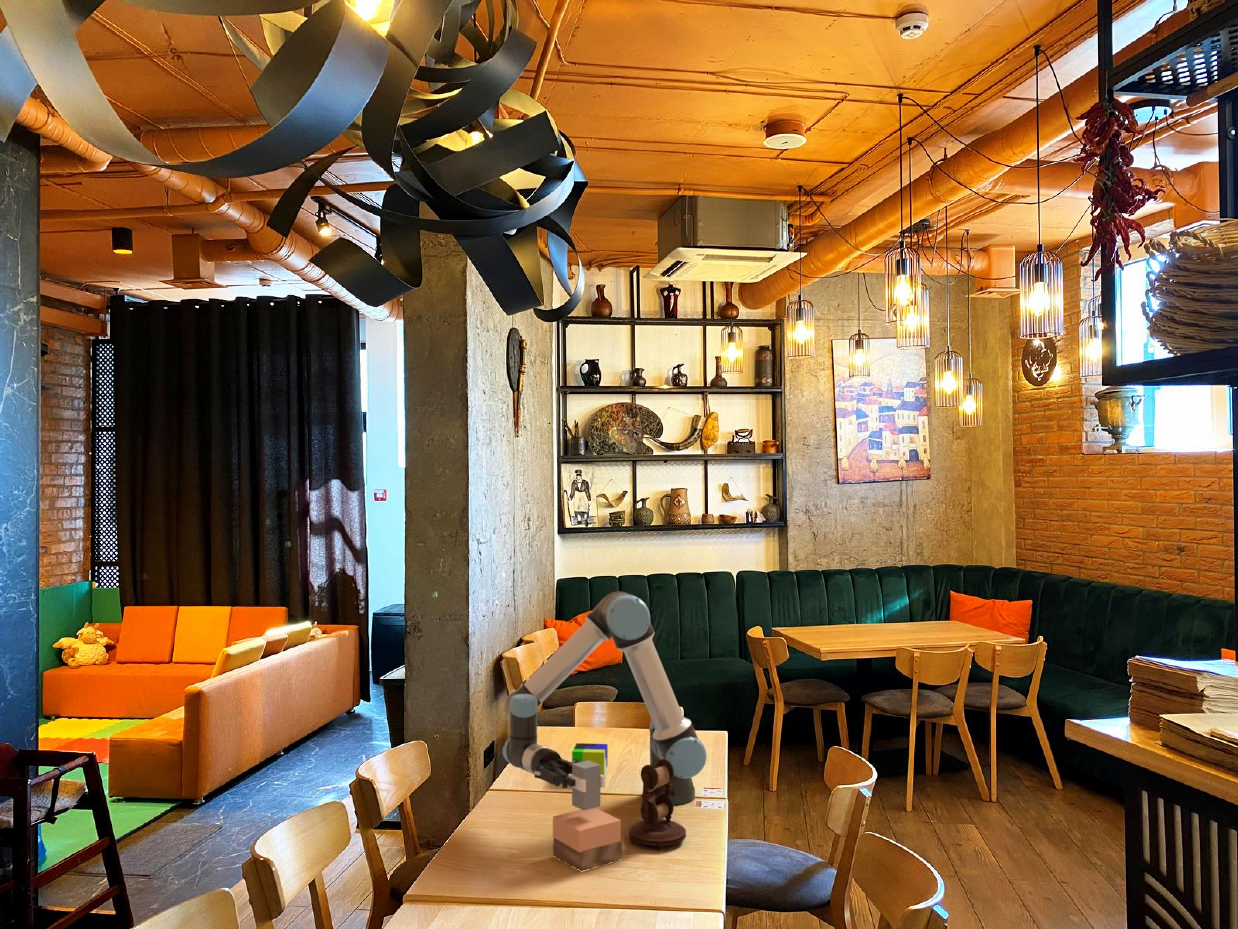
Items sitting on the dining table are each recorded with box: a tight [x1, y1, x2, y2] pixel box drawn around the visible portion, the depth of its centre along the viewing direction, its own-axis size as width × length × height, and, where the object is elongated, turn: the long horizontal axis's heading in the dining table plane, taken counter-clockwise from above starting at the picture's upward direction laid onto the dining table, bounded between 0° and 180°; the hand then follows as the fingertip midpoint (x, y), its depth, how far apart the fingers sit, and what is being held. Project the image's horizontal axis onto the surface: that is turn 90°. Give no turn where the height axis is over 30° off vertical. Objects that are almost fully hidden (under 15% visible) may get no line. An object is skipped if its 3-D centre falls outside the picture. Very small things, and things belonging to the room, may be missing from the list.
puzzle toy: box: [571, 742, 609, 781], centre depth 279 cm, size 10×10×10 cm
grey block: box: [571, 760, 601, 810], centre depth 217 cm, size 5×5×10 cm
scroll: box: [628, 759, 687, 851], centre depth 228 cm, size 15×15×20 cm
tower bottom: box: [552, 837, 623, 871], centre depth 216 cm, size 12×12×5 cm
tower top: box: [552, 807, 622, 852], centre depth 217 cm, size 12×12×5 cm
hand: (594, 784), depth 215 cm, fingers closed on grey block, 5 cm apart
